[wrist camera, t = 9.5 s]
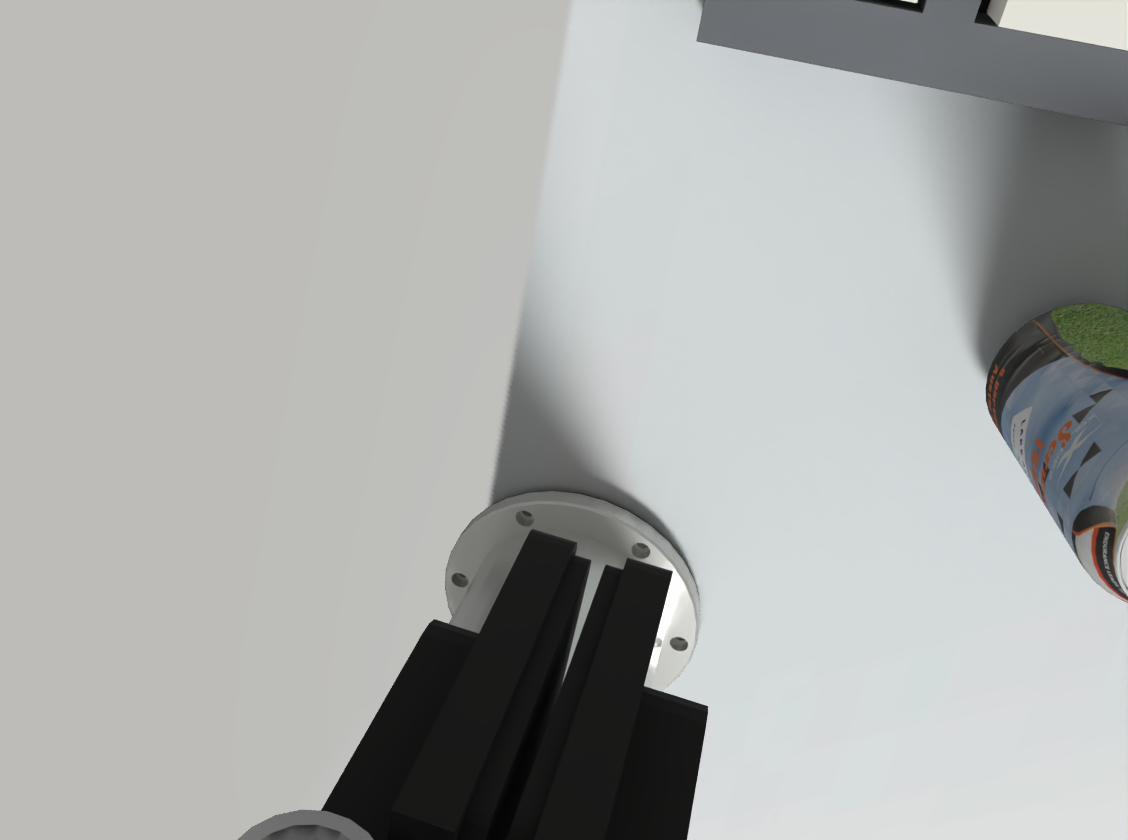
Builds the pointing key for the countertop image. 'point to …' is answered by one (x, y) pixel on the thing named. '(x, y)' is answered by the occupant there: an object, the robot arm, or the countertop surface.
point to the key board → (929, 50)
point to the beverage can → (1072, 427)
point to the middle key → (1066, 19)
